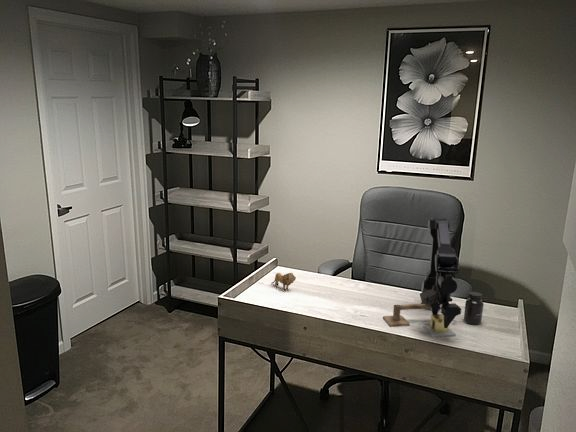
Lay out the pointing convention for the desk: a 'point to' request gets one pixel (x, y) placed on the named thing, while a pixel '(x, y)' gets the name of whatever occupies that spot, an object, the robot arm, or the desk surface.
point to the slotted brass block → (438, 323)
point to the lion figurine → (284, 279)
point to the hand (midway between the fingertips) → (439, 322)
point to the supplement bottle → (473, 309)
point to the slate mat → (445, 334)
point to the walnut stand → (399, 319)
